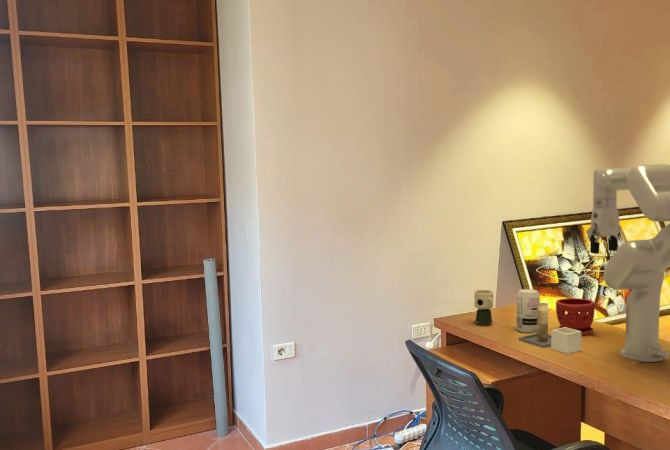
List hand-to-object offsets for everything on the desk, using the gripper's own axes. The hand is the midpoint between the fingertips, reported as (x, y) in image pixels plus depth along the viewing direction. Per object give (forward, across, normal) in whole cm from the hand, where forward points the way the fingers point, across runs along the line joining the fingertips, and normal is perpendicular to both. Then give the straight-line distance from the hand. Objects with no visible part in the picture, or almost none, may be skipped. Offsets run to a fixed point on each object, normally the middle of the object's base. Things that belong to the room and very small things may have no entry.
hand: (603, 251), depth 222 cm
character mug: (+31, -23, +36) cm, 52 cm away
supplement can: (+31, -16, +20) cm, 40 cm away
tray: (+30, -24, +6) cm, 39 cm away
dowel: (+30, -24, +6) cm, 38 cm away
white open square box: (+30, -25, -5) cm, 40 cm away
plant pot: (+31, -5, +8) cm, 32 cm away
